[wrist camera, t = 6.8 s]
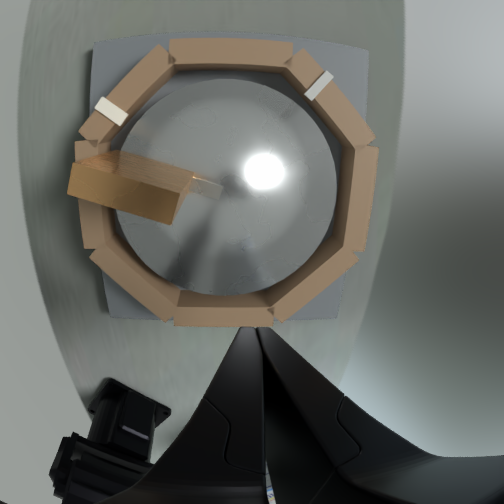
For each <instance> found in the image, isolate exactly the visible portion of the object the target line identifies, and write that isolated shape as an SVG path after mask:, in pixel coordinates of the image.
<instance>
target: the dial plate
mask: <svg viewBox="0 0 504 504" xmlns="http://www.w3.org/2000/svg"><path fill="white" fill-rule="evenodd" d="M368 58H369V50H365V49H361V48H356V47H352V46H347V45H342V44H337V43H332V42H326V41H321V40H314V39H308V38H301V37H293V36H284V35H275V34H263V33H248V32H176V33H161V34H150V35H140V36H132V37H124V38H118V39H111V40H105V41H99V42H94V46H93V57H92V69H91V84H90V112H89V118H88V119H87V121H86V122H85V123H84V124H83V126H82V127H81V128H80V129H79V131H78V132H79V133H80V134H81V135H82V136H83V137H84V138H85V139H86V140H81V141H75V162H77V161H80V160H83V159H86V158H89V157H93V156H96V155H100V154H103V153H107V152H110V151H114V150H119V151H121V149H122V146H123V144H124V142H125V140H126V138H127V136H128V134H129V133H130V131H131V130H132V128H133V127H134V125H135V124H136V122H137V121H138V120H139V119H140V118H141V117H142V116H143V115H144V113H145V112H146V111H147V110H148V109H150V108H151V107H152V106H153V105H154V104H156V103H157V102H158V101H159V100H161V99H162V98H164V97H166V96H167V95H169V94H170V93H172V92H174V91H176V90H178V89H181V88H183V87H185V86H188V85H191V84H195V83H198V82H202V81H208V80H215V79H237V80H245V81H251V82H254V83H258V84H261V85H265V86H267V87H269V88H272V89H274V90H276V91H278V92H280V93H282V94H283V95H285V96H287V97H288V98H290V99H291V100H293V101H294V102H295V103H296V104H298V105H299V106H300V107H301V108H302V109H304V110H305V111H306V113H307V114H308V115H309V116H310V117H311V118H312V119H313V120H314V122H315V123H316V124H317V126H318V127H319V129H320V130H321V132H322V133H323V135H324V137H325V139H326V141H327V144H328V146H329V148H330V151H331V154H332V157H333V160H334V165H335V171H336V182H337V192H336V203H335V207H334V212H333V216H332V219H331V222H330V224H329V227H328V230H327V232H326V234H325V236H324V237H323V239H322V241H321V243H320V244H319V246H318V247H317V249H316V250H315V251H314V253H313V254H312V255H311V256H310V257H309V258H308V260H307V261H306V262H305V263H304V264H303V265H302V266H300V267H299V268H298V269H297V270H296V271H295V272H293V273H292V274H290V275H289V276H288V277H286V278H285V279H283V280H281V281H279V282H277V283H275V284H274V285H272V286H269V287H266V288H264V289H261V290H258V291H254V292H251V293H247V294H240V295H228V296H218V295H208V294H202V293H198V292H193V291H190V290H187V289H185V288H182V287H179V286H177V285H175V284H173V283H171V282H169V281H167V280H166V279H164V278H163V277H161V276H160V275H158V274H157V273H156V272H154V271H153V270H152V269H151V268H150V267H148V266H147V265H146V264H145V263H144V262H143V261H142V259H141V258H140V257H139V256H138V255H137V254H136V252H135V251H134V250H133V248H132V247H131V245H130V244H129V242H128V240H127V238H126V236H125V234H124V233H123V230H122V228H121V225H120V222H119V220H118V216H117V211H116V209H114V208H111V207H108V206H104V205H101V204H98V203H94V202H91V201H88V200H85V199H81V198H78V204H79V213H80V222H81V230H82V237H83V244H84V249H95V250H94V252H93V253H92V254H91V255H90V257H89V258H90V259H91V260H92V261H93V262H94V263H95V264H97V265H98V266H99V267H100V268H101V271H102V277H103V283H104V288H105V293H106V299H107V304H108V308H109V313H110V317H112V318H129V319H150V320H162V321H164V322H165V323H166V322H167V321H168V320H174V326H194V327H242V326H244V327H265V326H273V321H280V322H281V323H283V322H284V321H285V320H312V319H333V318H337V315H338V310H339V306H340V301H341V296H342V291H343V286H344V281H345V276H346V271H347V270H348V269H349V268H350V267H352V266H353V265H354V264H355V263H356V262H357V261H359V259H358V258H357V256H356V255H355V254H354V253H353V251H363V252H364V250H365V245H366V239H367V233H368V227H369V221H370V215H371V208H372V201H373V194H374V187H375V179H376V171H377V162H378V152H379V147H374V146H369V145H368V144H369V143H370V142H371V141H373V140H374V139H375V138H376V136H375V135H374V133H373V132H372V131H371V129H370V128H369V126H368V125H367V124H366V109H367V90H368Z"/></svg>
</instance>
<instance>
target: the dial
mask: <svg viewBox="0 0 504 504" xmlns="http://www.w3.org/2000/svg"><path fill="white" fill-rule="evenodd" d="M336 192H337V182H336V171H335V165H334V160H333V157H332V154H331V151H330V148H329V146H328V144H327V141H326V139H325V137H324V135H323V133H322V132H321V130H320V129H319V127H318V126H317V124H316V123H315V122H314V120H313V119H312V118H311V117H310V116H309V115H308V114H307V113H306V111H305V110H304V109H302V108H301V107H300V106H299V105H298V104H296V103H295V102H294V101H293V100H291V99H290V98H288V97H287V96H285V95H283V94H282V93H280V92H278V91H276V90H274V89H272V88H269V87H267V86H265V85H261V84H258V83H254V82H251V81H245V80H237V79H215V80H208V81H202V82H198V83H195V84H191V85H188V86H185V87H183V88H181V89H178V90H176V91H174V92H172V93H170V94H169V95H167V96H166V97H164V98H162V99H161V100H159V101H158V102H157V103H156V104H154V105H153V106H152V107H151V108H150V109H148V110H147V111H146V112H145V113H144V115H143V116H142V117H141V118H140V119H139V120H138V121H137V122H136V124H135V125H134V127H133V128H132V130H131V131H130V133H129V134H128V136H127V138H126V140H125V142H124V144H123V146H122V149H121V151H119V150H114V151H110V152H107V153H103V154H100V155H96V156H93V157H89V158H86V159H83V160H80V161H77V162H73V164H72V169H71V174H70V179H69V185H68V191H67V194H68V195H71V196H75V197H78V198H81V199H85V200H88V201H91V202H94V203H98V204H101V205H104V206H108V207H111V208H114V209H116V211H117V216H118V220H119V222H120V225H121V228H122V230H123V233H124V234H125V236H126V238H127V240H128V242H129V244H130V245H131V247H132V248H133V250H134V251H135V252H136V254H137V255H138V256H139V257H140V258H141V259H142V261H143V262H144V263H145V264H146V265H147V266H148V267H150V268H151V269H152V270H153V271H154V272H156V273H157V274H158V275H160V276H161V277H163V278H164V279H166V280H167V281H169V282H171V283H173V284H175V285H177V286H179V287H182V288H185V289H187V290H190V291H193V292H198V293H202V294H208V295H218V296H228V295H240V294H247V293H251V292H254V291H258V290H261V289H264V288H266V287H269V286H272V285H274V284H275V283H277V282H279V281H281V280H283V279H285V278H286V277H288V276H289V275H290V274H292V273H293V272H295V271H296V270H297V269H298V268H299V267H300V266H302V265H303V264H304V263H305V262H306V261H307V260H308V258H309V257H310V256H311V255H312V254H313V253H314V251H315V250H316V249H317V247H318V246H319V244H320V243H321V241H322V239H323V237H324V236H325V234H326V232H327V230H328V227H329V224H330V222H331V219H332V216H333V212H334V207H335V203H336Z"/></svg>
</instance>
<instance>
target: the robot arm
mask: <svg viewBox="0 0 504 504" xmlns="http://www.w3.org/2000/svg"><path fill="white" fill-rule="evenodd" d="M88 411H89V412H90V413H91V414H93V415H94V418H93V422H92V425H91V428H90V431H89V435H88V438H87V439H86V438H83V437H82V436H79V434H77V433H75V432H73V433H72V435H71V437H63V438H62V441H61V444H60V447H59V449H58V452H57V455H56V457H55V459H54V462H53V464H52V466H51V469H50V472H49V476H50V478H51V480H52V481H53V487H54V488H55V490H54V496H56V497H58V498H60V499H63V500H62V504H270V503H269V500H268V496H267V487H266V477H265V476H266V463H267V467H268V472H269V476H270V481H271V485H272V490H273V494H274V498H275V503H276V504H504V455H501V456H486V457H442V456H436V455H433V454H430V453H428V452H425V451H424V450H422V449H420V448H418V447H417V446H415V445H413V444H412V443H410V442H409V441H407V440H406V439H404V438H403V437H401V436H400V435H398V434H397V433H395V432H393V431H392V430H390V429H389V428H387V427H386V426H384V425H383V424H382V423H380V422H379V421H377V420H376V419H375V418H373V417H372V416H370V415H369V414H368V413H366V412H365V411H364V410H363V409H361V408H360V407H359V406H358V405H357V404H355V403H354V402H353V401H352V400H351V399H350V398H348V397H347V396H344V393H342V392H341V391H340V390H339V389H338V388H337V387H336V386H334V385H333V384H332V383H331V382H330V381H329V380H328V379H326V378H325V377H324V376H323V375H322V374H321V373H320V372H319V371H317V370H316V369H315V368H314V367H313V366H312V365H311V364H310V363H308V362H307V361H306V360H305V359H304V358H303V357H302V356H301V355H300V354H298V353H297V352H296V351H295V350H294V349H293V348H292V347H291V346H290V345H289V344H288V343H286V342H285V341H284V340H283V339H282V338H281V337H280V336H279V335H278V334H277V333H276V332H274V331H273V330H272V329H271V328H269V327H257V328H256V329H255V328H254V327H244V326H242V327H240V328H239V330H238V332H237V334H236V336H235V338H234V339H233V341H232V343H231V345H230V347H229V349H228V351H227V353H226V355H225V357H224V358H223V360H222V362H221V364H220V366H219V368H218V370H217V372H216V374H215V375H214V377H213V379H212V381H211V383H210V385H209V387H208V389H207V390H206V392H205V394H204V396H203V399H201V401H200V403H199V405H198V407H197V408H196V410H195V412H194V413H193V415H192V417H191V418H190V420H189V422H188V423H187V424H186V426H185V427H184V429H183V430H182V431H181V433H180V434H179V435H178V437H177V438H176V439H175V440H174V441H173V443H172V444H171V445H170V446H169V448H168V449H167V450H166V451H165V452H164V454H163V455H162V456H161V457H160V458H159V459H158V461H157V462H156V463H155V464H152V463H150V458H151V451H152V444H153V437H154V431H155V428H156V427H157V426H159V425H160V424H161V423H162V422H163V421H164V420H166V419H167V418H168V417H169V416H170V415H171V409H170V408H168V407H166V406H164V405H162V404H160V403H158V402H156V401H154V400H152V399H150V398H148V397H146V396H144V395H142V394H140V393H138V392H136V391H134V390H132V389H130V388H129V387H127V386H125V385H123V384H121V383H120V382H118V381H116V380H114V379H109V380H108V381H107V382H106V383H105V385H104V386H103V387H102V389H101V390H100V392H99V393H98V394H97V396H96V397H95V398H94V400H93V401H92V403H91V404H90V405H89V408H88ZM0 504H7V503H4V502H2V501H0Z"/></svg>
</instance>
